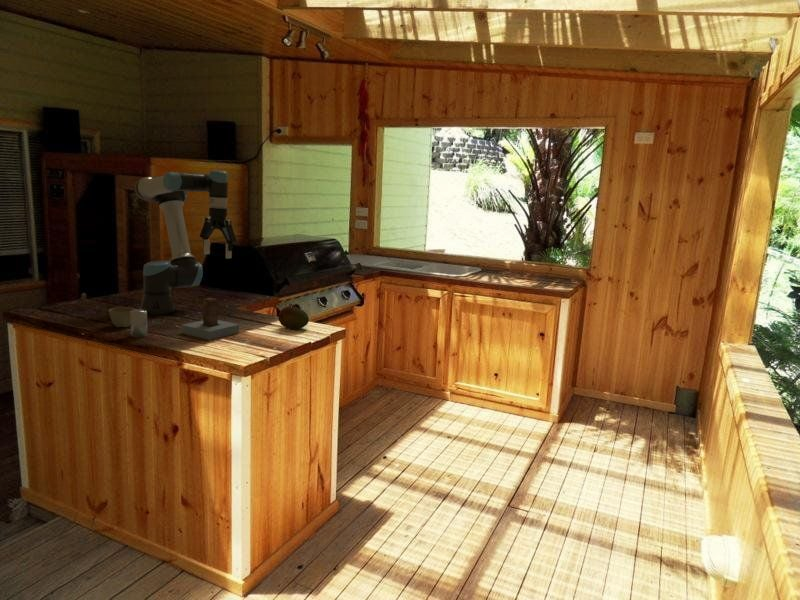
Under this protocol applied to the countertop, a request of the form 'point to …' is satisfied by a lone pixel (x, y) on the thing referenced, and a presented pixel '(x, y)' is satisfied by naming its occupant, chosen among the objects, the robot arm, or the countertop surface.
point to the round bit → (138, 323)
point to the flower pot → (121, 316)
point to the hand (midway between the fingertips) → (217, 256)
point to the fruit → (293, 318)
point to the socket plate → (210, 329)
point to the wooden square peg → (210, 312)
